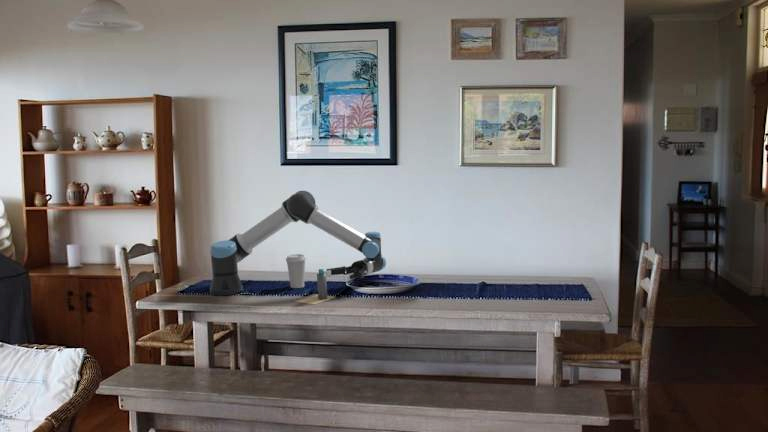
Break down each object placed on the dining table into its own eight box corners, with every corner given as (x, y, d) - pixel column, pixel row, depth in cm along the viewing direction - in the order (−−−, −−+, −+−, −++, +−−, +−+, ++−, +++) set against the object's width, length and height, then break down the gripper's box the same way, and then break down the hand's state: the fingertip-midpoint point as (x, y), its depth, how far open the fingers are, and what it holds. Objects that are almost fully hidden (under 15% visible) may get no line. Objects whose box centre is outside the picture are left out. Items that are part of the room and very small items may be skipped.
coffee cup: (303, 289, 317) (302, 257, 316) (284, 288, 319) (282, 257, 317) (310, 284, 327) (308, 253, 325) (291, 284, 329) (289, 253, 327)
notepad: (293, 301, 295) (293, 300, 295) (314, 294, 306) (314, 293, 306) (314, 304, 288) (314, 304, 288) (335, 297, 299) (335, 296, 299)
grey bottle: (316, 299, 297) (314, 270, 295) (322, 296, 300) (320, 268, 298) (323, 300, 294) (321, 270, 293) (329, 297, 297) (327, 269, 296)
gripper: (340, 258, 326) (311, 266, 309) (382, 262, 311) (354, 271, 294) (341, 273, 327) (312, 282, 310) (383, 278, 312) (354, 288, 295)
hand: (332, 277), depth 302 cm, fingers open, 13 cm apart
